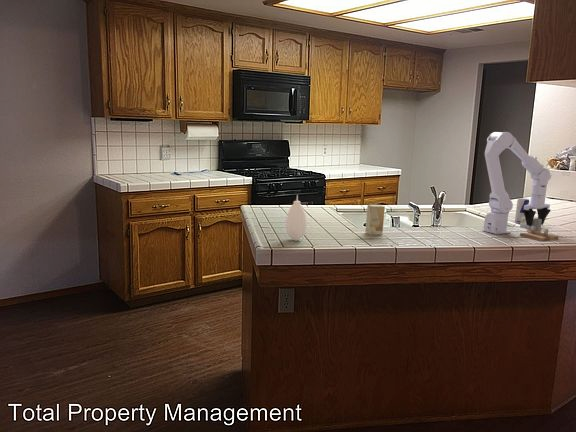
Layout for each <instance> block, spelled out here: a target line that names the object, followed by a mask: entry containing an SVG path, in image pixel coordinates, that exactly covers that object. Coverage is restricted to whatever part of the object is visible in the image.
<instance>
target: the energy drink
mask: <svg viewBox="0 0 576 432" xmlns="http://www.w3.org/2000/svg"><path fill="white" fill-rule="evenodd" d="M528 203H530V199H529V198H525V197H523V198H522V197H519V198H517V201H516V207H515V208H516V209H515V218H514V222H516V224H519V223H520V224H521V218H523V217H525V215H524V213H523V209H524V205H528Z"/></svg>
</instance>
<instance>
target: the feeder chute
mask: <svg viewBox="0 0 576 432" xmlns="http://www.w3.org/2000/svg"><path fill="white" fill-rule="evenodd" d="M534 218H537V219H538V216H534ZM519 227H520V228H523V227H524V229H528V225H526V219H525V217H523V218H521V224H520V226H519Z"/></svg>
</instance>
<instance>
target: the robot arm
mask: <svg viewBox="0 0 576 432" xmlns="http://www.w3.org/2000/svg"><path fill="white" fill-rule="evenodd" d="M486 142H487V143H486V146H485V150H484V158H485V163H486V169H487V173H488V174H487V175H488V178H489V185H490V189H491V192H490V194H489V201H488V206H489V208H490V212H489V213H487V214H486V215H485V217H484V223H483V229H481V230H482V231H483V232H487V233H491V234H493V235H494V234H495V235H499V234H501V235H502V234H509V233H510V234H511V232H512V231H510V230H507V229H508V220H509V214H510V212H511V210H513V207H514V206H513V205H514V204H513V202H512V200H511V199H510V195H509V194H508V192H507V191H506V188H505V184H504V183H505V182H504V176H503V171H502V166H501V162H500V155H501V153H502V152H503V151H505V150H506V149H509V150H510V151H511V152H512V153H513V154H514V155H516V157H518V158H519V159H520V160H521V165H522V167H523V168H524V169H525V170H526V171H527V172H528V173H529V174H530V178H531V179H532V185H531V192H530V193H531V194H530V200H529V203H528V205H524V209H523V213H524V215H525V219H526V225H528V226H532V222H533V218H534V217H535V215H536V214H537V217H538V219H541V220H542V223H541V226H543V225H544V223H545V221H546V219H547V217H548V215H549V214H550V212H551V209H550V208H551V207H550V206H551V204H549V203H545V202H546V196H547V189H548V184H549V181H550V180H551V178H552V174H551V172H550V170H549V169H548V168H546V167H544V166H545V165H544V164H543V163H540V161H539V160H538V157H537V156H536V155H529V153H527V151H526V150H525V149H524V148H523V147H522V146H521V144H520V143H519V141H517V138H516V137H515V136H513V134H512V133H511V132H509V131H503V132H502V131H501V132H500V131H494V132H492V133H490V134H489V136H488V137H487V139H486Z"/></svg>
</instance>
